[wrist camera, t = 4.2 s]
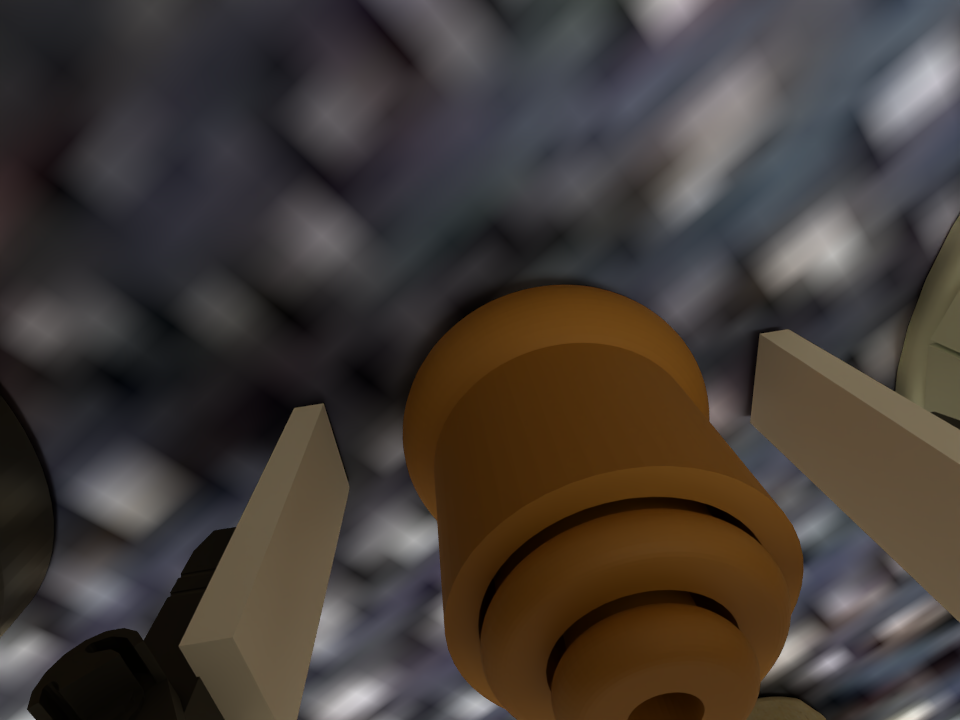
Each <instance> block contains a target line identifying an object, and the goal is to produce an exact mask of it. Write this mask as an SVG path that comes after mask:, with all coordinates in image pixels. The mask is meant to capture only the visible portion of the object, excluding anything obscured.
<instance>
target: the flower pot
mask: <svg viewBox="0 0 960 720" xmlns="http://www.w3.org/2000/svg"><path fill="white" fill-rule="evenodd" d="M746 720H826V718H825V717H824V716H823V715H822V714H820V713H819V712H817V711H816V710H814V709H813V708H811V707H810V706H808V705H807V704H805V703H804V702H803V701H801V700H799V699H797V698H791V697H780V696H779V697H762V698H757V701H756V704H755V706H754V708H753V710H752V712H751V713H750V715H749V716H748V718H747V719H746Z"/></svg>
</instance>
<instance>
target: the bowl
mask: <svg viewBox="0 0 960 720" xmlns="http://www.w3.org/2000/svg"><path fill="white" fill-rule="evenodd" d="M895 392H896V393H898V394H900V395H901V396H903V397H905V398H906V399H908V400H910V401H912V402H913V403H915V404H917V405H918V406H920V407H922V408H923V409H925V410H927V411H929V412H938V413H940V414H943V415H946V416H949V417H952V418H955V419H957V420H960V215H959V217H958V218H957V220H956V221H955V223H954V225H953V226H952V228H951V230H950V232H949V234H948V236H947V238H946V240H945V242H944V244H943V246H942V248H941V250H940V252H939V254H938V256H937V258H936V260H935V262H934V264H933V266H932V268H931V270H930V272H929V274H928V276H927V278H926V280H925V283H924V286H923V288H922V291H921V294H920V296H919V299H918V302H917V304H916V307H915V310H914V312H913V315H912V318H911V320H910V323H909V326H908V329H907V333H906V337H905V341H904V346H903V350H902V354H901V358H900V362H899V366H898V370H897V379H896V389H895Z"/></svg>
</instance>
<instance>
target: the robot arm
mask: <svg viewBox="0 0 960 720" xmlns="http://www.w3.org/2000/svg"><path fill="white" fill-rule="evenodd" d="M750 423H751V424H752V425H753V426H754V427H755V428H756V429H757V430H758V431H759V432H760V433H762V434H763V435H764V436H765V437H766V438H767V439H768V440H769V441H770V442H771V443H772V444H773V445H774V446H775V447H776V448H777V449H778V450H779V451H780V452H781V453H783V454H784V455H785V456H786V457H787V458H788V459H789V460H790V461H791V462H792V463H793V464H794V465H795V466H796V467H797V468H798V469H799V470H800V471H801V472H802V473H804V474H805V475H806V476H807V477H808V478H809V479H810V480H811V481H812V482H813V483H814V484H815V485H816V486H817V487H818V488H819V489H820V490H821V491H822V492H823V493H824V494H826V495H827V496H828V497H829V498H830V499H831V500H832V501H833V502H834V503H835V504H836V505H837V506H838V507H839V508H840V509H841V510H842V511H843V512H844V513H845V514H847V515H848V516H849V517H850V518H851V519H852V520H853V521H854V522H855V523H856V524H857V525H858V526H859V527H860V528H861V529H862V530H863V531H864V532H865V533H866V534H867V535H869V536H870V537H871V538H872V539H873V540H874V541H875V542H876V543H877V544H878V545H879V546H880V547H881V548H882V549H883V550H884V551H885V552H886V553H887V554H888V555H890V556H891V557H892V558H893V559H894V560H895V561H896V562H897V563H898V564H899V565H900V566H901V567H902V568H903V569H904V570H905V571H906V572H907V573H908V574H909V575H910V576H912V577H913V578H914V579H915V580H916V581H917V582H918V583H919V584H920V585H921V586H922V587H923V588H924V589H925V590H926V591H927V592H928V593H929V594H930V595H931V596H933V597H934V598H935V599H936V600H937V601H938V602H939V603H940V604H941V605H942V606H943V607H944V608H945V609H946V610H947V611H948V612H949V613H950V614H951V615H952V616H953V617H955V618H956V619H957V620H958V621H959V622H960V420H957V419H955V418H952V417H949V416H946V415H943V414H940V413H938V412H929V411H927V410H925V409H923V408H922V407H920V406H918V405H917V404H915V403H913V402H912V401H910V400H908V399H906V398H905V397H903V396H901V395H900V394H898V393H896V392H894V391H893V390H891V389H889V388H888V387H886V386H884V385H883V384H881V383H879V382H877V381H876V380H874V379H872V378H871V377H869V376H867V375H866V374H864V373H862V372H860V371H859V370H857V369H855V368H854V367H852V366H850V365H848V364H847V363H845V362H843V361H842V360H840V359H838V358H837V357H835V356H833V355H831V354H830V353H828V352H826V351H825V350H823V349H821V348H820V347H818V346H816V345H814V344H813V343H811V342H809V341H808V340H806V339H804V338H802V337H801V336H799V335H797V334H796V333H794V332H792V331H791V330H789V329H786V330H780V331H774V332H768V333H761V334H760V335H759V344H758V354H757V363H756V372H755V382H754V391H753V401H752V410H751V419H750ZM349 489H350V487H349V483H348V480H347V477H346V474H345V470H344V467H343V464H342V461H341V458H340V454H339V451H338V448H337V445H336V441H335V438H334V435H333V432H332V428H331V425H330V422H329V419H328V415H327V412H326V409H325V406H324V403H322V404H316V405H310V406H304V407H297V408H294V409H293V411H292V414H291V416H290V418H289V420H288V422H287V424H286V426H285V428H284V430H283V432H282V434H281V436H280V438H279V440H278V442H277V444H276V446H275V449H274V451H273V453H272V455H271V457H270V459H269V461H268V463H267V465H266V467H265V469H264V471H263V473H262V475H261V477H260V479H259V481H258V484H257V486H256V488H255V490H254V492H253V494H252V496H251V498H250V500H249V502H248V504H247V506H246V508H245V510H244V512H243V514H242V516H241V519H240V521H239V523H238V525H237V527H233V528H227V529H221V530H215V531H213V532H212V533H211V534H210V535H209V536H208V537H207V538H206V539H205V540H204V541H203V542H202V543H201V544H200V545H199V546H198V547H197V548H196V549H195V550H194V551H193V553H192V555H191V557H190V558H189V560H188V562H187V564H186V566H185V567H184V569H183V571H182V573H181V578H178V580H177V582H176V584H175V585H174V587H173V589H172V591H171V592H170V593H171V596H170V597H168V598H167V600H166V601H165V603H164V605H163V607H162V609H161V610H160V612H159V614H158V616H157V618H156V619H155V621H154V623H153V625H152V627H151V628H150V630H149V632H148V634H147V635H146V637H145V639H144V641H143V639H142V638H141V636H140V635H139V633H138V632H137V631H134V630H130V629H126V628H122V629H116V630H111V631H106V632H103V633H101V634H99V635H97V636H94V637H92V638H90V639H87V640H85V641H84V642H82V643H81V644H79V645H78V646H76V647H75V648H73V649H72V650H70V651H69V652H67V653H66V654H65V655H63V656H62V657H61V658H60V659H59V660H58V661H57V662H56V663H55V664H54V665H53V666H52V667H51V668H50V669H49V670H48V671H47V672H46V673H45V674H44V676H43V677H42V678H41V680H40V681H39V683H38V684H37V686H36V687H35V688H34V690H33V691H32V694H31V698H30V701H29V704H28V708H27V710H28V711H29V712H30V713H31V715H32V716H33V717H34V718H35V719H36V720H297V717H298V712H299V708H300V704H301V699H302V695H303V690H304V686H305V682H306V677H307V673H308V669H309V664H310V660H311V655H312V651H313V647H314V642H315V638H316V633H317V629H318V625H319V620H320V616H321V612H322V607H323V603H324V598H325V594H326V590H327V585H328V581H329V577H330V572H331V568H332V563H333V559H334V555H335V550H336V546H337V541H338V537H339V533H340V528H341V524H342V520H343V515H344V511H345V506H346V502H347V498H348V493H349ZM53 538H54V518H53V510H52V502H51V498H50V493H49V489H48V485H47V482H46V479H45V476H44V473H43V470H42V467H41V464H40V462H39V460H38V457H37V455H36V453H35V450H34V448H33V446H32V444H31V442H30V441H29V439H28V437H27V435H26V433H25V431H24V429H23V428H22V426H21V424H20V423H19V421H18V420H17V418H16V416H15V415H14V413H13V412H12V410H11V409H10V407H9V406H8V404H7V403H6V402H5V400H4V399H3V398H2V396H1V395H0V638H1V637H2V635H3V634H4V633H5V632H6V631H7V629H8V628H9V627H10V626H11V625H12V623H13V622H14V621H15V620H16V619H17V618H18V616H19V615H20V614H21V613H22V612H23V610H24V609H25V608H26V607H27V605H28V604H29V603H30V602H31V600H32V599H33V597H34V596H35V594H36V593H37V591H38V590H39V588H40V586H41V583H42V581H43V579H44V577H45V575H46V572H47V569H48V566H49V563H50V558H51V554H52V549H53Z"/></svg>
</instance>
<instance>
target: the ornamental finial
mask: <svg viewBox="0 0 960 720" xmlns="http://www.w3.org/2000/svg"><path fill="white" fill-rule="evenodd" d="M403 448H404V454H405V460H406V465H407V468H408V472H409V475H410V477H411V480H412V483H413V485H414V487H415V489H416V491H417V493H418V495H419V497H420V499H421V500H422V502H423V503H424V505H425V506H426V508H427V509H428V510H429V512H430V513H431V514H432V516H433V517H434V518H435V519H436V520H437V524H438V538H439V553H440V568H441V582H442V597H443V612H444V626H445V637H446V641H447V646H448V650H449V652H450V655H451V657H452V660H453V662H454V664H455V666H456V667H457V669H458V670H459V672H460V673H461V675H462V676H463V677H464V679H465V680H466V681H467V682H468V683H469V684H470V685H471V686H472V687H473V688H474V689H475V690H476V691H477V692H479V693H480V694H481V695H482V696H484V697H485V698H487V699H488V700H490V701H491V702H493V703H495V704H496V705H498V706H500V707H502V708H504V709H506V710H507V711H508V712H509V713H510V714H511V715H512V716H513V717H515V718H516V719H517V720H746V719H747V718H748V716H749V715H750V713H751V712H752V710H753V708H754V706H755V704H756V701H757V698H758V695H759V691H760V683H761V681H762V679H763V678H764V677H765V676H766V675H767V673H768V672H769V671H770V669H771V668H772V666H773V665H774V664H775V662H776V660H777V659H778V657H779V655H780V653H781V651H782V649H783V647H784V644H785V641H786V638H787V635H788V631H789V627H790V619H791V614H792V612H793V610H794V607H795V605H796V603H797V600H798V597H799V593H800V590H801V586H802V578H803V555H802V550H801V546H800V541H799V539H798V536H797V534H796V532H795V530H794V527H793V525H792V524H791V522H790V521H789V520H788V518H787V517H786V515H785V514H784V512H783V511H782V510H781V509H780V507H779V506H778V505H777V504H776V503H775V501H774V500H773V499H772V498H771V496H770V495H769V494H768V493H767V492H766V490H765V489H764V488H763V487H762V485H761V484H760V483H759V482H758V481H757V479H756V478H755V477H754V476H753V474H752V473H751V472H750V471H749V470H748V468H747V467H746V466H745V465H744V463H743V462H742V461H741V460H740V459H739V457H738V456H737V455H736V454H735V452H734V451H733V450H732V449H731V448H730V446H729V445H728V444H727V443H726V441H725V440H724V439H723V438H722V437H721V435H720V434H719V433H718V432H717V430H716V429H715V428H714V427H713V426H712V424H711V423H710V422H709V404H708V396H707V391H706V387H705V383H704V380H703V377H702V374H701V372H700V369H699V367H698V364H697V362H696V360H695V358H694V357H693V355H692V353H691V351H690V350H689V348H688V347H687V345H686V344H685V342H684V341H683V340H682V339H681V337H680V336H679V335H678V334H677V333H676V332H675V331H674V330H673V329H672V328H671V327H670V326H669V325H668V324H667V323H666V322H665V321H664V320H663V319H662V318H661V317H659V316H658V315H657V314H655V313H654V312H652V311H651V310H649V309H648V308H646V307H645V306H643V305H641V304H639V303H638V302H636V301H634V300H632V299H630V298H627V297H625V296H623V295H620V294H617V293H614V292H611V291H607V290H604V289H600V288H595V287H589V286H581V285H548V286H540V287H534V288H529V289H524V290H521V291H517V292H514V293H510V294H508V295H505V296H502V297H500V298H497V299H495V300H493V301H491V302H489V303H487V304H485V305H483V306H481V307H480V308H478V309H476V310H475V311H473V312H472V313H470V314H468V315H467V316H466V317H464V318H463V319H462V320H460V321H459V322H458V323H457V324H456V325H454V326H453V327H452V328H451V329H450V330H449V331H448V332H447V333H446V334H445V335H444V336H443V337H442V338H441V339H440V340H439V341H438V342H437V344H436V345H435V346H434V347H433V348H432V350H431V351H430V353H429V354H428V355H427V357H426V358H425V360H424V362H423V363H422V365H421V367H420V369H419V370H418V372H417V375H416V377H415V379H414V381H413V383H412V386H411V389H410V392H409V395H408V399H407V402H406V407H405V412H404V419H403Z"/></svg>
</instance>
